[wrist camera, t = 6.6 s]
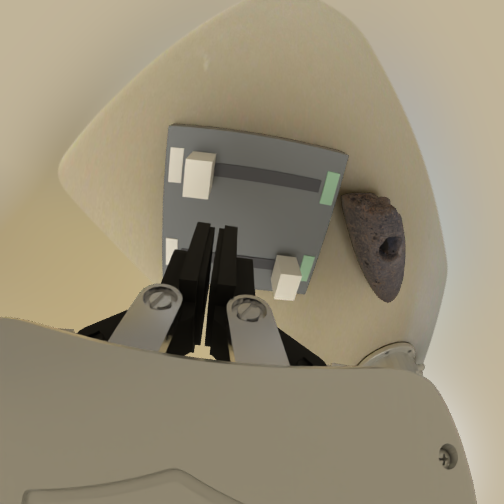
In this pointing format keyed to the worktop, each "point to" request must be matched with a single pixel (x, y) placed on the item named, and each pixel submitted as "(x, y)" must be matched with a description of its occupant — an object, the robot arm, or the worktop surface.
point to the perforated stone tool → (376, 241)
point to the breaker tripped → (198, 175)
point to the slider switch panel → (254, 196)
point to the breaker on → (285, 278)
